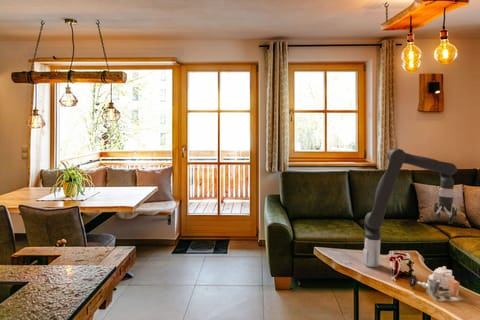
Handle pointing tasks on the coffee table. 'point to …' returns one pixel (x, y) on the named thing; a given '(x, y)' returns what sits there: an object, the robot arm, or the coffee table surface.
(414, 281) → the valve
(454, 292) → the carriage
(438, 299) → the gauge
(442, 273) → the mechanical part
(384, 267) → the coffee table surface
